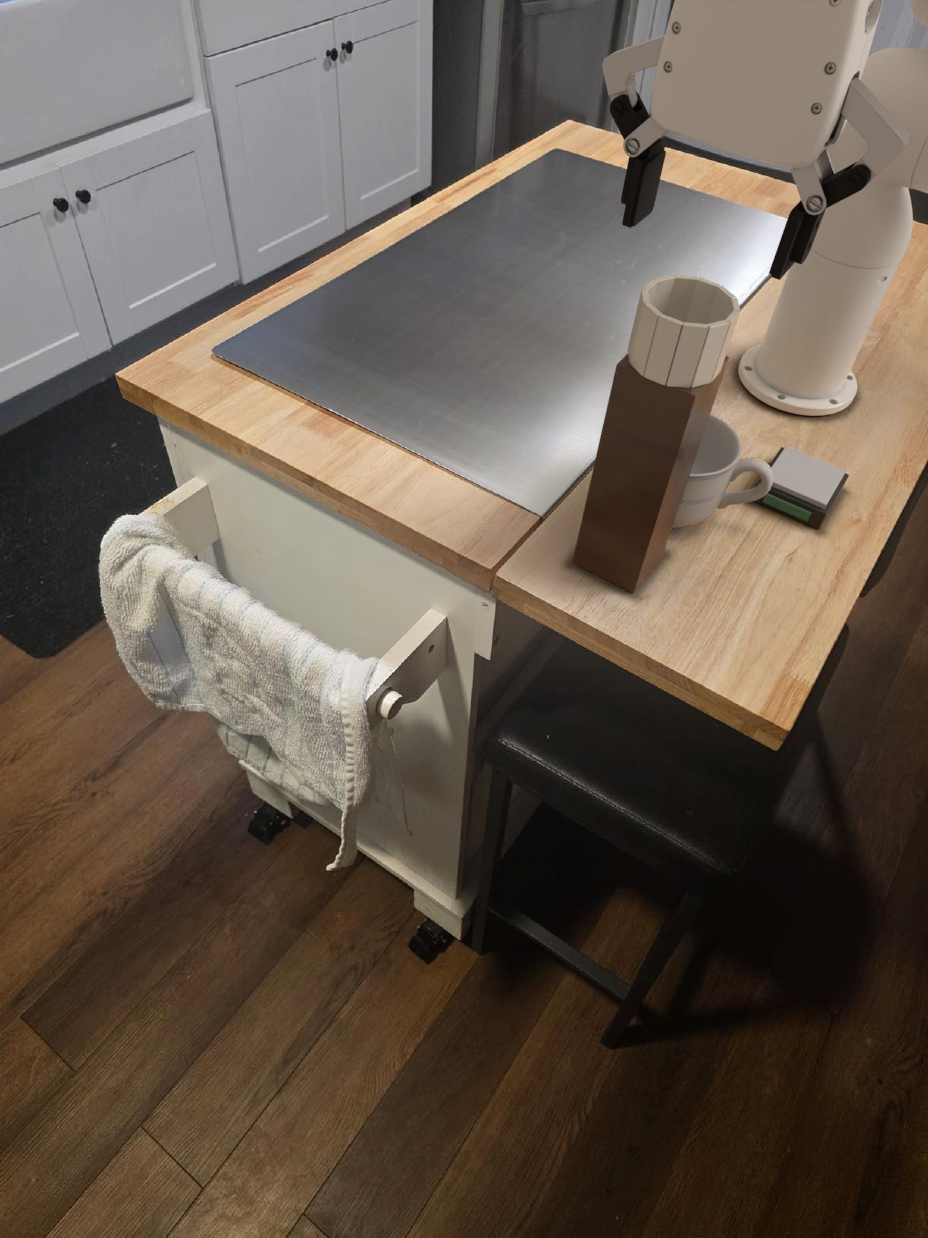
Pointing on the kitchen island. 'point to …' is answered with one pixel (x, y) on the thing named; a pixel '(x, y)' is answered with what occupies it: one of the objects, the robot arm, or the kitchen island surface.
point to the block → (640, 473)
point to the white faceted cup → (682, 330)
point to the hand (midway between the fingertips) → (707, 243)
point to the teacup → (719, 475)
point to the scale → (803, 486)
